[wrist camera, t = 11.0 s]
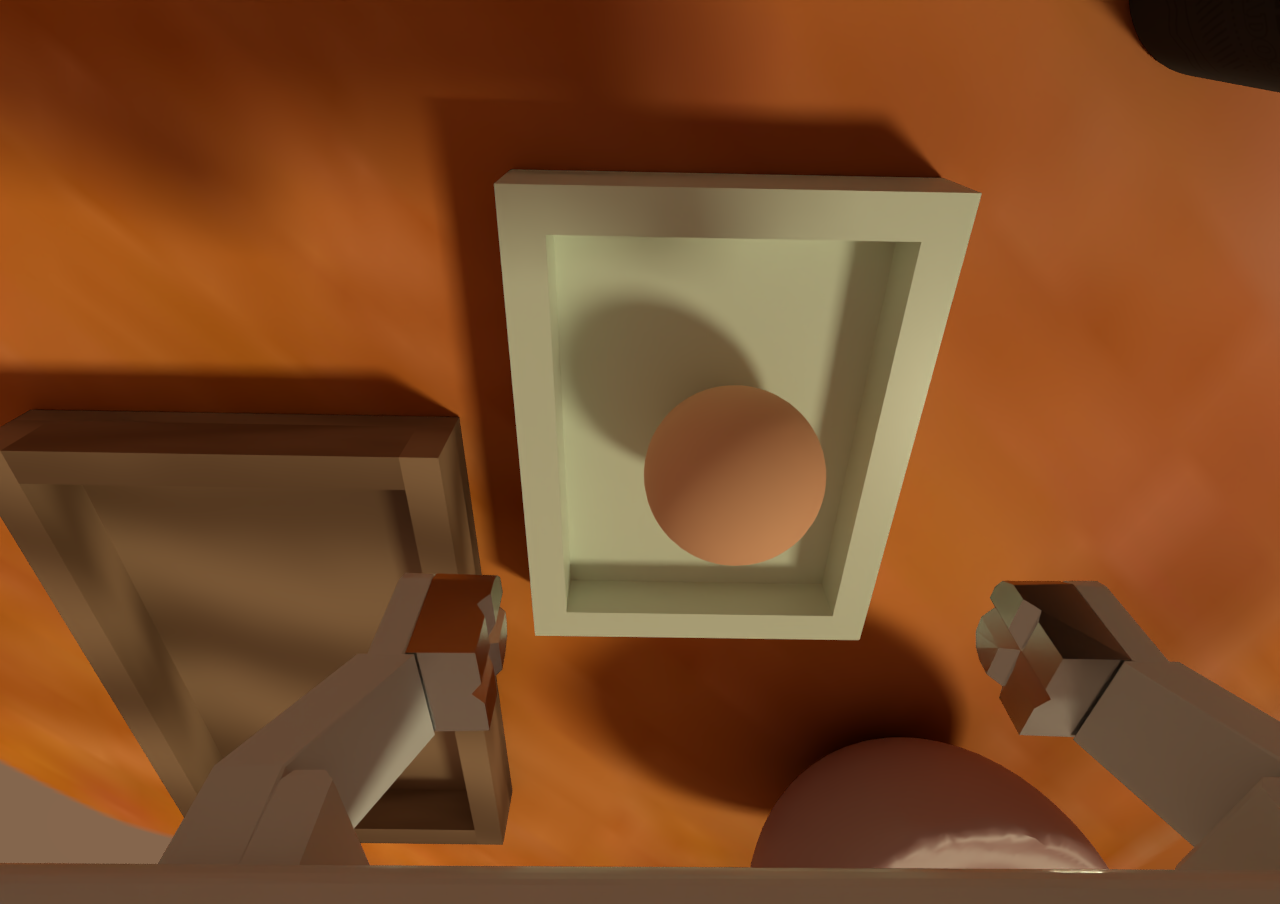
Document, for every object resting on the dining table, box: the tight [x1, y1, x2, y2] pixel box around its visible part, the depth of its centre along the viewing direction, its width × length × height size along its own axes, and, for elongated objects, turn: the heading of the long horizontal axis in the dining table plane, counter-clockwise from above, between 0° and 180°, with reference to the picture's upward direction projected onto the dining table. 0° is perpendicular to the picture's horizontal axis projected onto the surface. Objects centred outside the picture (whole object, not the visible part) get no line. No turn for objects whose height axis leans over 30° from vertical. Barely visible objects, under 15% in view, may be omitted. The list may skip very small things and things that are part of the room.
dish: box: [0, 410, 512, 845], centre depth 22 cm, size 18×12×2 cm, turn 179°
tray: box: [494, 169, 982, 640], centre depth 18 cm, size 13×10×2 cm
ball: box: [644, 385, 826, 566], centre depth 16 cm, size 4×4×4 cm
